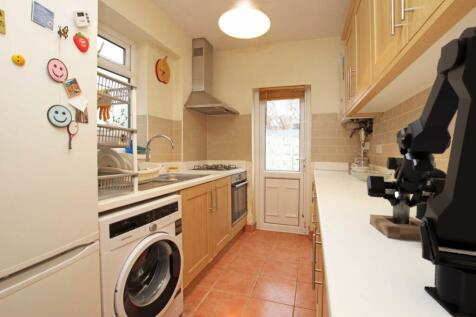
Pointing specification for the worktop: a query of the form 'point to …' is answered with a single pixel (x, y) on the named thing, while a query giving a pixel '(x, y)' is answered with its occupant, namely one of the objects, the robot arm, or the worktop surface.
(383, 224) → the wooden square frame
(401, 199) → the metal pin
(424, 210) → the aerosol can
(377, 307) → the worktop surface
